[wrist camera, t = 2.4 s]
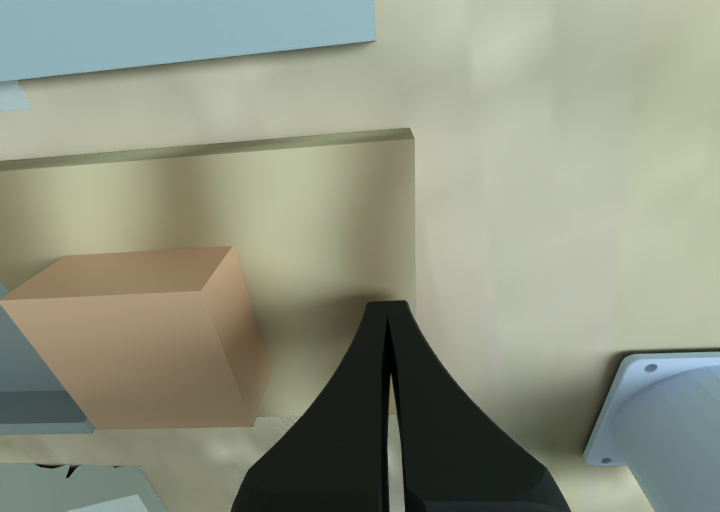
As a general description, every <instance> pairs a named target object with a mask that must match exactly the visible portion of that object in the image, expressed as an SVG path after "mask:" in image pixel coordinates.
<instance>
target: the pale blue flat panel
mask: <svg viewBox="0 0 720 512" xmlns="http://www.w3.org/2000/svg"><path fill="white" fill-rule="evenodd" d="M371 41H376V32H375V15H374V0H0V111H10V110H20V109H29V108H31V106H30V104H29V102H28V100H27V98H26V97H25V95H24V93H23V91H22V89H21V87H20V85H19V83H18V81H17V80H24V79H33V78H42V77H51V76H60V75H70V74H79V73H88V72H97V71H106V70H115V69H124V68H133V67H143V66H152V65H161V64H170V63H179V62H188V61H197V60H206V59H216V58H225V57H234V56H243V55H252V54H261V53H270V52H279V51H289V50H298V49H307V48H316V47H325V46H334V45H343V44H353V43H362V42H371Z"/></svg>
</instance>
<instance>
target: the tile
mask: <svg viewBox="0 0 720 512" xmlns="http://www.w3.org/2000/svg"><path fill="white" fill-rule="evenodd" d="M0 304H1V306H2V307H3V308H4V310H5V311H6V312H7V314H8V315H9V316H10V317H11V319H12V320H13V321H14V323H15V324H16V325H17V327H18V328H19V329H20V330H21V332H22V333H23V334H24V336H25V337H26V338H27V340H28V341H29V342H30V344H31V345H32V346H33V347H34V349H35V350H36V351H37V353H38V354H39V355H40V357H41V358H42V359H43V360H44V362H45V363H46V364H47V366H48V367H49V368H50V370H51V371H52V372H53V374H54V375H55V376H56V377H57V379H58V380H59V381H60V383H61V384H62V385H63V387H64V388H65V389H66V390H67V392H68V393H69V394H70V396H71V397H72V398H73V400H74V401H75V402H76V404H77V405H78V406H79V407H80V409H81V410H82V411H83V413H84V414H85V415H86V417H87V418H88V419H89V420H90V422H91V423H92V424H93V426H94V427H95V428H96V429H137V428H200V427H254V424H255V421H256V417H257V414H258V411H259V408H260V405H261V402H262V399H263V396H264V393H265V390H266V387H267V383H268V380H269V377H270V374H271V368H270V365H269V362H268V358H267V355H266V352H265V349H264V345H263V342H262V339H261V336H260V332H259V329H258V326H257V323H256V319H255V316H254V313H253V310H252V306H251V303H250V300H249V297H248V294H247V290H246V287H245V284H244V281H243V277H242V274H241V271H240V268H239V264H238V261H237V258H236V255H235V251H234V248H233V246H225V247H207V248H190V249H173V250H155V251H138V252H120V253H103V254H86V255H68V256H63V257H62V258H60V259H59V260H58V261H56V262H55V263H53V264H52V265H50V266H49V267H47V268H46V269H44V270H43V271H41V272H40V273H38V274H37V275H35V276H34V277H32V278H31V279H29V280H28V281H26V282H25V283H23V284H22V285H20V286H19V287H17V288H16V289H14V290H13V291H11V292H10V293H8V294H7V295H5V296H4V297H2V298H1V299H0Z"/></svg>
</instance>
